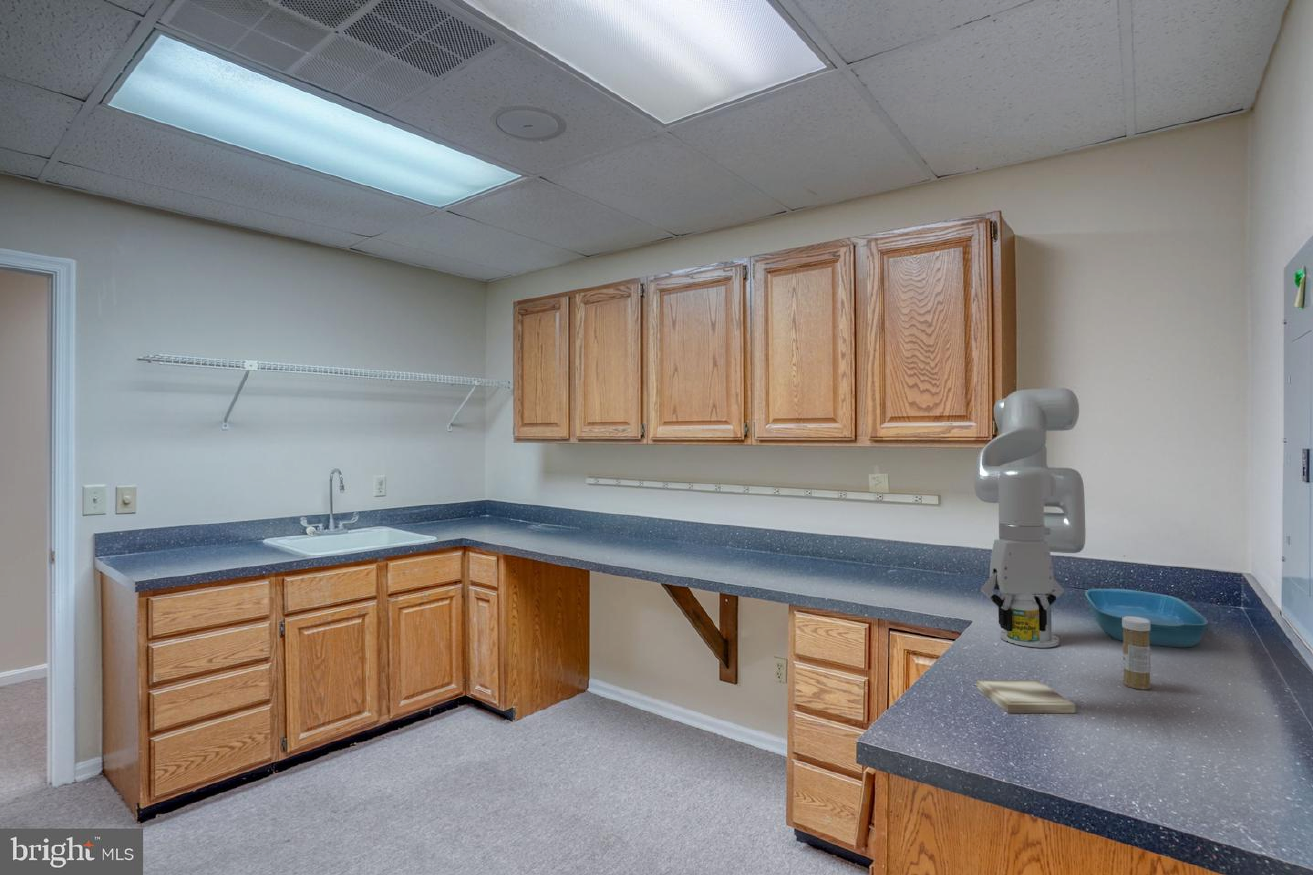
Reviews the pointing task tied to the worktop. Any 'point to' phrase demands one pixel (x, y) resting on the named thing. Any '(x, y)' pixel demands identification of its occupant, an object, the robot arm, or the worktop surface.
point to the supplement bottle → (1024, 620)
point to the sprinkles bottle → (1136, 652)
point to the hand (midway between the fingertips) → (1022, 628)
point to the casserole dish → (1147, 615)
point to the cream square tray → (1025, 696)
